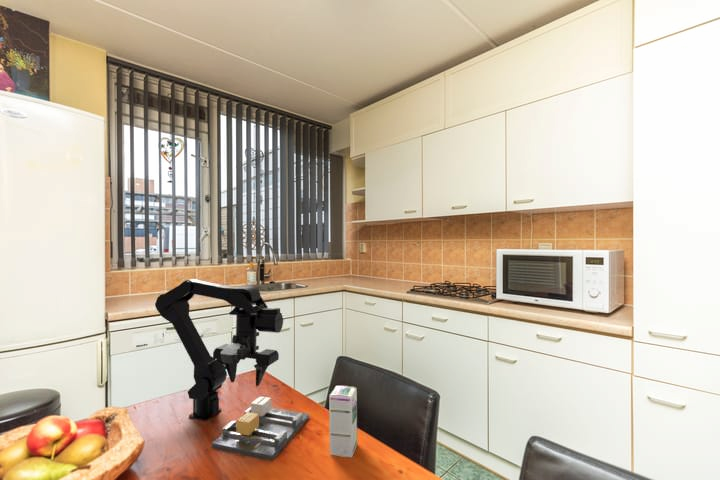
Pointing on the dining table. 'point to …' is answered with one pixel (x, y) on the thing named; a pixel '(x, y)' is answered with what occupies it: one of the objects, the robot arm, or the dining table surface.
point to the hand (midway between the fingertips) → (245, 383)
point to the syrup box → (343, 421)
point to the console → (262, 434)
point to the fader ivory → (261, 406)
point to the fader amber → (247, 423)
